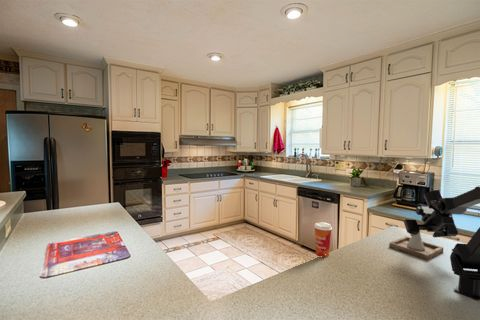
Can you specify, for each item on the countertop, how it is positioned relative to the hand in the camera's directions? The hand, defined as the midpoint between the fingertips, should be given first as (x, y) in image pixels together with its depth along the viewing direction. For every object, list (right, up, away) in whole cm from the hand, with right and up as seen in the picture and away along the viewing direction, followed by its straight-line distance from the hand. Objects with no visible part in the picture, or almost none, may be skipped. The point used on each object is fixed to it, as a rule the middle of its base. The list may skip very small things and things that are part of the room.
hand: (422, 235), depth 112 cm
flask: (+1, -8, +5) cm, 9 cm away
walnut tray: (+1, -8, +5) cm, 10 cm away
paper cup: (-46, -9, -1) cm, 47 cm away
